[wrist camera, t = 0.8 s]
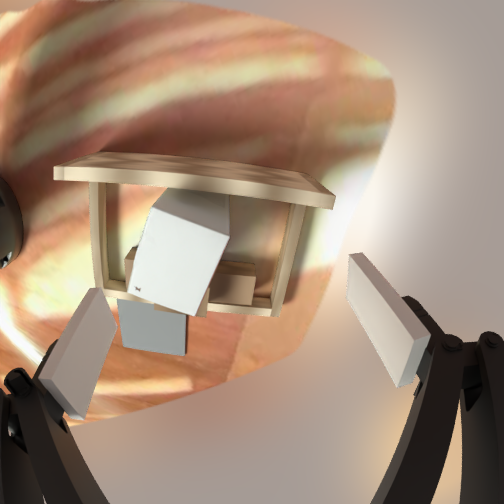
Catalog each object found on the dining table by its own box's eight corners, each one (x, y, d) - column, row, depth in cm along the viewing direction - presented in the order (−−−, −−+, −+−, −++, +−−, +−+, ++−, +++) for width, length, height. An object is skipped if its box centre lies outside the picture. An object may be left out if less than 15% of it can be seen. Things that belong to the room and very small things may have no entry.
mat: (123, 344, 41) (123, 346, 41) (117, 293, 37) (116, 294, 37) (185, 354, 43) (184, 355, 42) (186, 302, 39) (186, 304, 38)
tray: (102, 285, 37) (74, 331, 28) (98, 151, 29) (53, 166, 20) (276, 306, 40) (288, 358, 31) (306, 173, 32) (335, 196, 23)
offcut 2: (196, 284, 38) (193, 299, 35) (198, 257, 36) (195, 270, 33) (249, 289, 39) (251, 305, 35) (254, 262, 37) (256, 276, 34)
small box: (205, 252, 36) (195, 319, 24) (157, 234, 34) (124, 293, 22) (231, 192, 33) (232, 236, 21) (179, 172, 31) (149, 204, 19)
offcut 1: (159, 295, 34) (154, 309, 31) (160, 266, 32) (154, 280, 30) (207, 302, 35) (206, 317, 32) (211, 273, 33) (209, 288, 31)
